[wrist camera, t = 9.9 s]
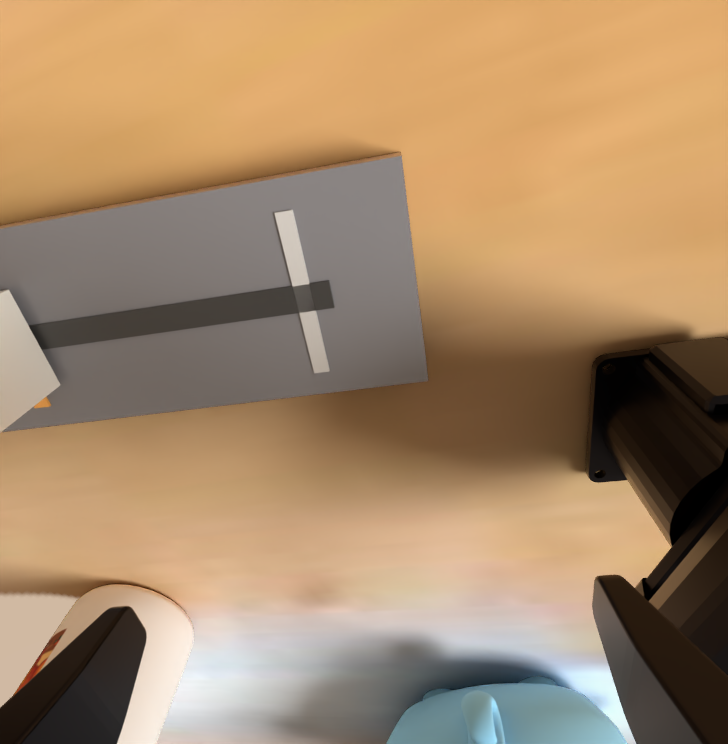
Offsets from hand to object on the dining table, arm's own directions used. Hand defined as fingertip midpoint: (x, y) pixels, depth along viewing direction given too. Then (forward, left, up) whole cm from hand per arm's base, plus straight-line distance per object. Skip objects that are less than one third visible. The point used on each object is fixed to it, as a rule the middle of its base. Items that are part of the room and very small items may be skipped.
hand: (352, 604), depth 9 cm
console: (+3, +10, -12) cm, 16 cm away
